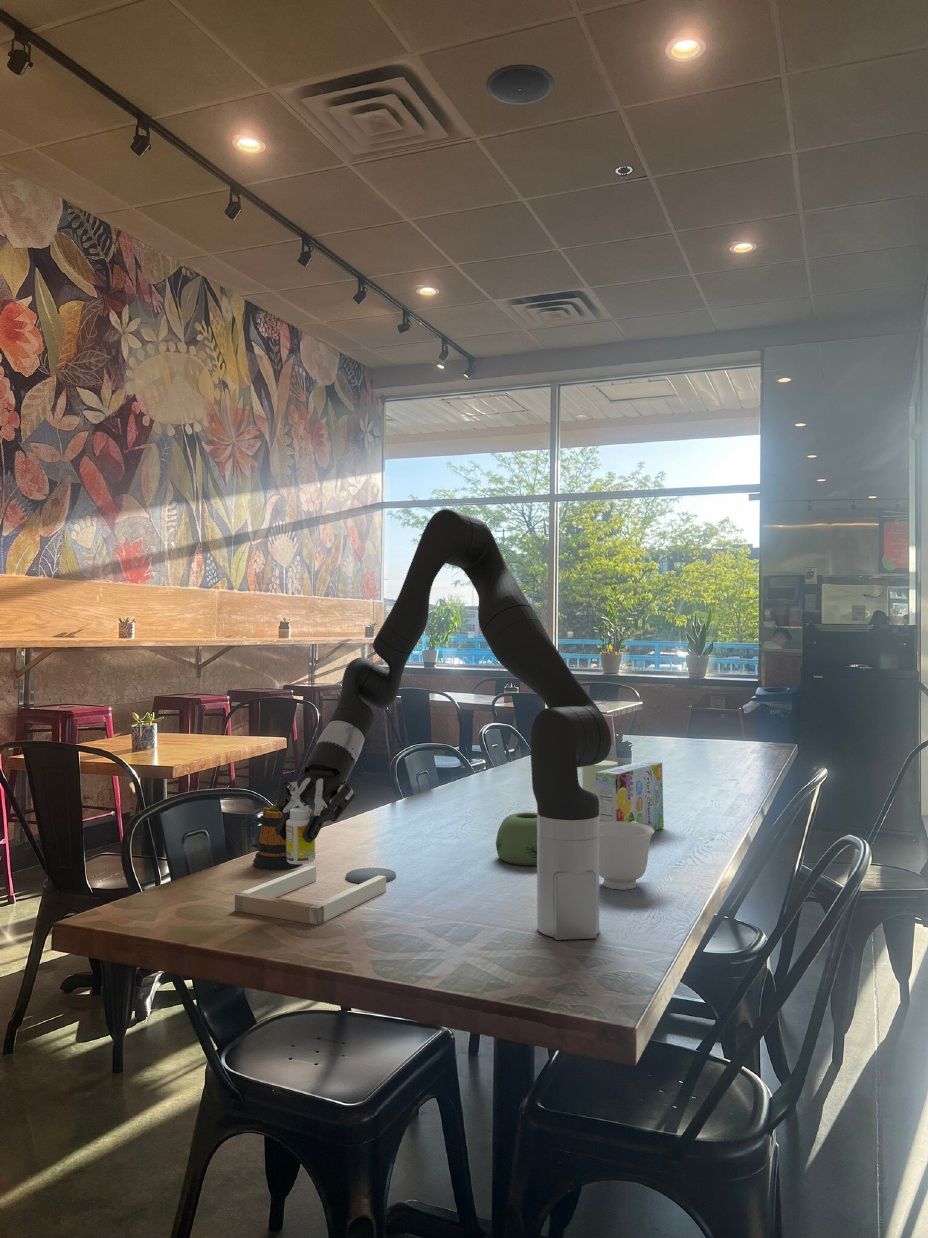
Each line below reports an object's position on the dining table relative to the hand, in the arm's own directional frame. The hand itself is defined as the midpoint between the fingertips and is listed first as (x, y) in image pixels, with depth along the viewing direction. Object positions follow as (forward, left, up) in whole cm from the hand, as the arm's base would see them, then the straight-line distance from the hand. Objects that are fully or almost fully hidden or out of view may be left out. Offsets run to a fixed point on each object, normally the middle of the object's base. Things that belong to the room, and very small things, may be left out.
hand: (293, 838), depth 143 cm
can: (+75, -73, -12) cm, 105 cm away
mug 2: (+28, -45, -12) cm, 54 cm away
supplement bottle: (+1, -1, -4) cm, 5 cm away
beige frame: (+5, -3, -12) cm, 13 cm away
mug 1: (+29, +3, -12) cm, 31 cm away
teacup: (+8, -57, -12) cm, 59 cm away
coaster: (+18, -13, -12) cm, 25 cm away
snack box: (+45, -71, -12) cm, 85 cm away
